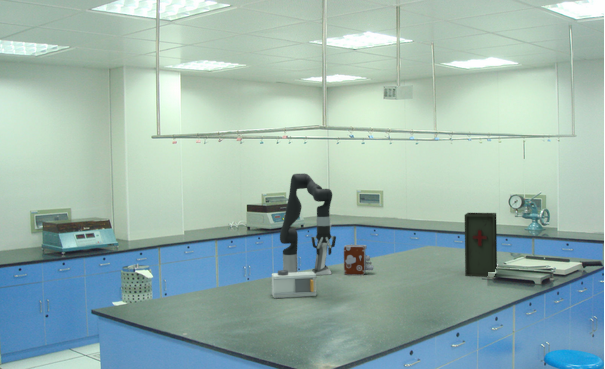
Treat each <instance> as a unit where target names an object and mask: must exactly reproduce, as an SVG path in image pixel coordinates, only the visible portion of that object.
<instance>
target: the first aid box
mask: <svg viewBox="0 0 605 369" xmlns="http://www.w3.org/2000/svg"><path fill="white" fill-rule="evenodd" d="M497 240H498V239H497V212H467V213H465V214H464V265H465V267H464V268H465V269H464V271H465V273H464V274H465V277H477V278H478V277H479V278H480V277H481V278H488V277H487V276H488V272H495V269H496V267H497V268H498V254H497V252H498V251H497V250H498V249H497V247H498V245H497V243H498V241H497Z"/></svg>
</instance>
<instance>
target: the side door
mask: <svg viewBox="0 0 605 369" xmlns="http://www.w3.org/2000/svg"><path fill="white" fill-rule="evenodd" d="M306 291H311V292H314V281H313V278H310V279H295V292H306Z"/></svg>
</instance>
